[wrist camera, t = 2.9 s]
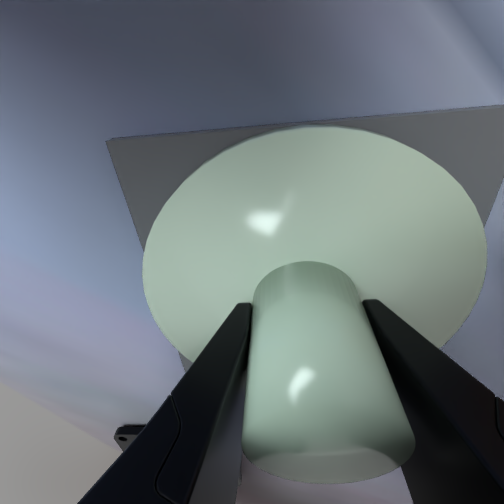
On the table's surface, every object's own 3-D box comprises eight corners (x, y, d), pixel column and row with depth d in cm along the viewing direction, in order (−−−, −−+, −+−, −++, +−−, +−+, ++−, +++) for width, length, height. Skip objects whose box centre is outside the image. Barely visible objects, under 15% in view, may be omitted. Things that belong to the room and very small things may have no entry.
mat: (420, 369, 12) (424, 378, 12) (189, 370, 13) (187, 378, 13) (519, 103, 7) (532, 104, 6) (113, 138, 8) (105, 141, 7)
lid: (424, 378, 12) (506, 541, 8) (187, 378, 13) (147, 523, 8) (531, 105, 6) (1007, 166, 2) (105, 140, 7) (-107, 229, 3)
